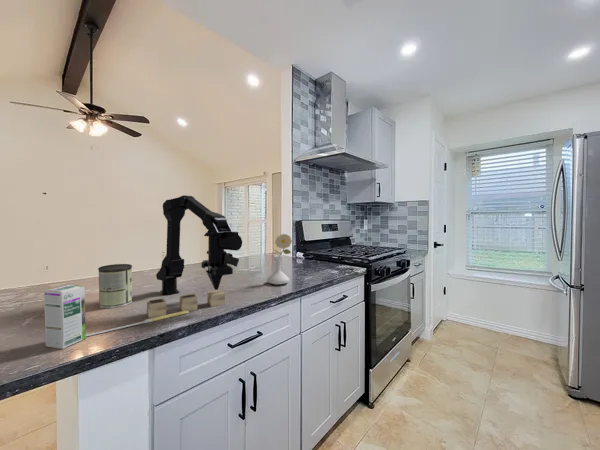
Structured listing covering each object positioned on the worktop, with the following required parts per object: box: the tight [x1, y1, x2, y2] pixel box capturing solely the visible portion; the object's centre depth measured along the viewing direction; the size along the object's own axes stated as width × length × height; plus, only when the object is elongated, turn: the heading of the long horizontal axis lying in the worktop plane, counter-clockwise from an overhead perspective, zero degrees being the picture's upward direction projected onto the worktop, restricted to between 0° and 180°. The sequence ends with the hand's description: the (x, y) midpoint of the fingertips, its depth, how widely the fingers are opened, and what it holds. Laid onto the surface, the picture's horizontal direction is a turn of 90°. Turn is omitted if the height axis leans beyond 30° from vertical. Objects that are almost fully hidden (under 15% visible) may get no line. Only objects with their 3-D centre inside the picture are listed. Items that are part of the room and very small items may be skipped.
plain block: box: [206, 289, 226, 308], centre depth 101 cm, size 5×5×4 cm
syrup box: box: [43, 284, 87, 350], centre depth 68 cm, size 6×6×14 cm
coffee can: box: [97, 263, 133, 309], centre depth 99 cm, size 10×10×14 cm
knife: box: [86, 310, 190, 337], centre depth 81 cm, size 1×33×4 cm
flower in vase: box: [266, 233, 293, 285], centre depth 132 cm, size 13×11×25 cm
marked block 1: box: [146, 298, 167, 319], centre depth 89 cm, size 5×5×5 cm
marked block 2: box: [179, 293, 198, 312], centre depth 95 cm, size 5×5×5 cm
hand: (216, 289), depth 100 cm, fingers closed
